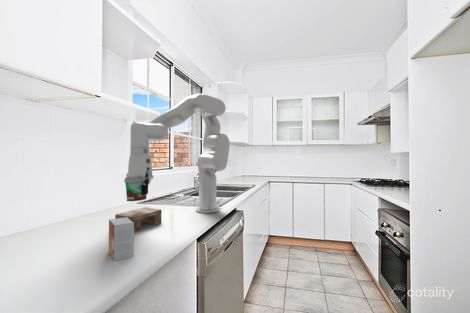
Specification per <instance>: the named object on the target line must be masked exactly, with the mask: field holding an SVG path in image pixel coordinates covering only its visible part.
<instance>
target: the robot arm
mask: <svg viewBox="0 0 470 313" xmlns="http://www.w3.org/2000/svg"><path fill="white" fill-rule="evenodd" d="M226 110H227V107H226V104H225V102H224V101H223V100H221V99H220V98H217V97H213V96H211V95H208V94H204V93H197V94H193V95H190V96H187V97H186V98H184V99H183V100H182V101H180V102H179V103H177V104H176V105H174V106H173V107H172V108H171V109H169V110H167V111H165V112H164V113H162V114H160V115H159V116H157V117H155V118H154V119H152V120H151V121H149V122H148V123H146V122H132V123H131V124H130V150H129V151H130V152H129V153H130V155H129V159H128V165H127V166H128V167H127V170H128V171H127V173H126V177H141V178H143V182H142V184H143V185H141V194H142V195H144V194H147V195H148V194H149V185H150V184H151V182H152V180H153V179H154V175H153V164H152V158H151V155H150V142H160V141H164V140H166V139H167V137H168V136H169V129H171V128H174V127H177V126H180V125H182V124H184V123H185V122H186V121H187V120H188V119H189V118H190V117H192V116H193V115H194V114H196V113H199V115H200V117H201V118H202V119H203V121H204V123H205V124H204V125H205V127H204V133H203V134H204V135H203V141H202V145H203V146H202V147H203V149H204V150H205V151H208V152H209V153H206V152H205V153H202V154H200V155H199V156H198V158H197V163H196V164H197V169H198V207H196V208H195V212H197V213H201V214H214V213H217V212H219V211H220V209H219V207H217V206H219V205H220V201H218V200H217V175H216V172H223V171H224V170H225V169H226V168H227V165H228V160H229V154H230V144H231V143H230V139H229V137H228V135H226V134H225V133H221V123H220V120H219V119H218V117H220V116H222V115H224V113H225V112H226ZM210 152H214V153H210ZM145 176H146V177H145ZM144 179H146V181H145V180H144Z"/></svg>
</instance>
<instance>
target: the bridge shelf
mask: <svg viewBox="0 0 470 313" xmlns="http://www.w3.org/2000/svg"><path fill="white" fill-rule="evenodd" d="M162 211H163V210H162V209H161V208H153V207H147V206H144V207H141V208H138V209H137V208H136V209H133V210H129V211H125V212H124V211H123V212H120V213H115V215H114V216H115V217H114V219H117V218H125V217H128V219H130V220H131V221H132V222H134V233H135V232H138V231H141V223H142V224H147V225H152V226H156V225H159V224H162Z"/></svg>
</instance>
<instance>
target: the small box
mask: <svg viewBox="0 0 470 313" xmlns="http://www.w3.org/2000/svg"><path fill="white" fill-rule="evenodd" d="M134 233H135V232H134V222H132V221H131V220H130V219H128V217H125V218H117V219H115V218H111V219H110V218H109V219H108V253H109V254H110V257H111V258H112V260H113V261H114V262H115V261H116V262H117V261H119V260H122V259H128V258H131V257H134V249H135V247H134V246H135V245H134V243H135V241H134V240H135V239H134V237H135V234H134Z"/></svg>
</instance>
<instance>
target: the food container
mask: <svg viewBox="0 0 470 313" xmlns="http://www.w3.org/2000/svg"><path fill="white" fill-rule="evenodd" d="M145 177H146V176H145ZM144 180H145V181H146V179H144ZM123 181H124V184H125V194H126V202H137V201H138V202H139V201H143V200H147V195H148V194H144V195H142V194H141V185H143V184H142V182H143V178H141V177H127V176H126V177H124V180H123Z"/></svg>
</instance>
